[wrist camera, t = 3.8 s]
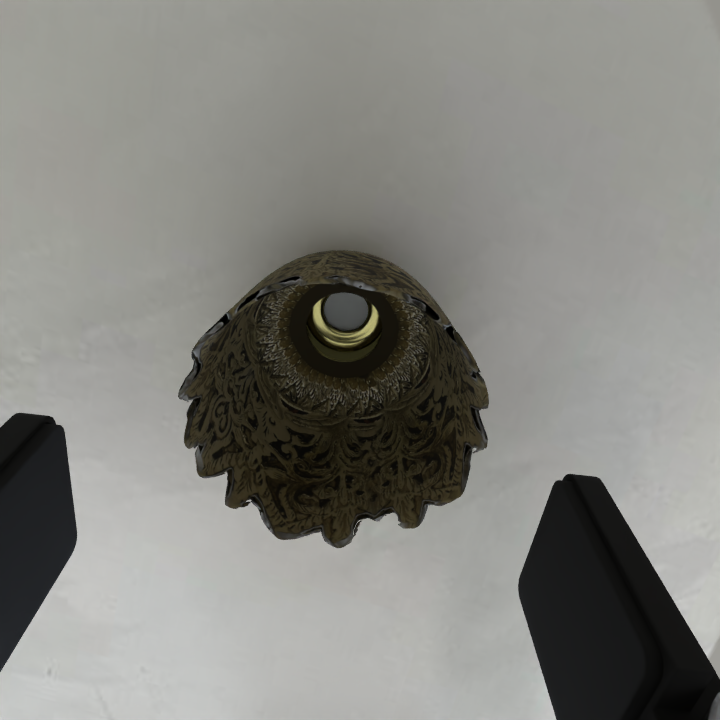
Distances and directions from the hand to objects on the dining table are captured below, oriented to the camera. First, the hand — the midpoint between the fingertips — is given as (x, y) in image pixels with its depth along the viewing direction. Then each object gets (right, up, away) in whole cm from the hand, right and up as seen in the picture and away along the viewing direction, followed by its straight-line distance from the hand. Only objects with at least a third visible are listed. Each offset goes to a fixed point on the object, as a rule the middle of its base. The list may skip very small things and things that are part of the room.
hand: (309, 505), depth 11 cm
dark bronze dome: (0, +5, +10) cm, 11 cm away
